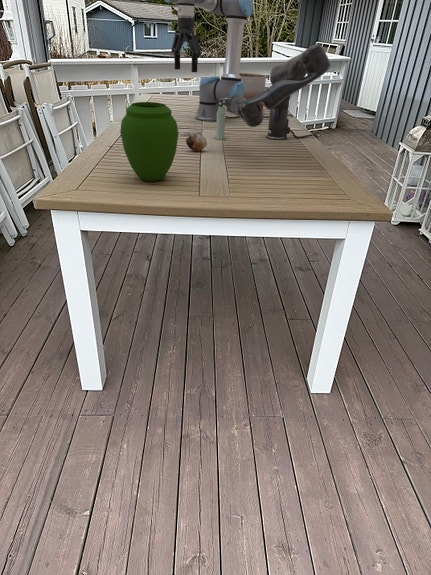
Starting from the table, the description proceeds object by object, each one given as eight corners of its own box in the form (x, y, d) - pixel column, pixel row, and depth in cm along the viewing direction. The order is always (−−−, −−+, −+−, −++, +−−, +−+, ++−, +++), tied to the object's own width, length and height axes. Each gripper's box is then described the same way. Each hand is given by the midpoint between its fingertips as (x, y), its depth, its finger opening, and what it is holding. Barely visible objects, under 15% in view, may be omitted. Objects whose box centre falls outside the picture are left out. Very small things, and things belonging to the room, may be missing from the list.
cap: (183, 133, 213) (183, 129, 212) (190, 134, 212) (190, 130, 211) (180, 134, 209) (180, 130, 208) (187, 135, 208) (187, 131, 207)
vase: (131, 189, 135) (125, 110, 122) (118, 172, 150) (112, 100, 137) (186, 184, 142) (187, 109, 129) (169, 168, 157) (167, 99, 144)
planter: (267, 114, 272) (271, 77, 261) (229, 113, 268) (232, 76, 257) (257, 108, 294) (260, 73, 282) (223, 107, 289) (224, 72, 278)
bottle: (225, 139, 206) (227, 104, 197) (219, 139, 204) (220, 104, 195) (220, 137, 209) (222, 103, 200) (214, 138, 206) (215, 103, 198)
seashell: (206, 149, 186) (206, 130, 181) (207, 152, 181) (208, 133, 177) (185, 148, 184) (185, 130, 180) (186, 152, 180) (186, 133, 175)
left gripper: (163, 16, 190) (164, 68, 201) (196, 17, 174) (195, 73, 185) (176, 17, 194) (177, 68, 205) (209, 18, 178) (208, 73, 189)
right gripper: (222, 115, 174) (213, 108, 187) (254, 115, 177) (242, 109, 190) (223, 96, 170) (213, 90, 183) (255, 96, 173) (243, 91, 186)
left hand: (185, 70), depth 195 cm, fingers open, 13 cm apart
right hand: (228, 100), depth 187 cm, fingers open, 8 cm apart
